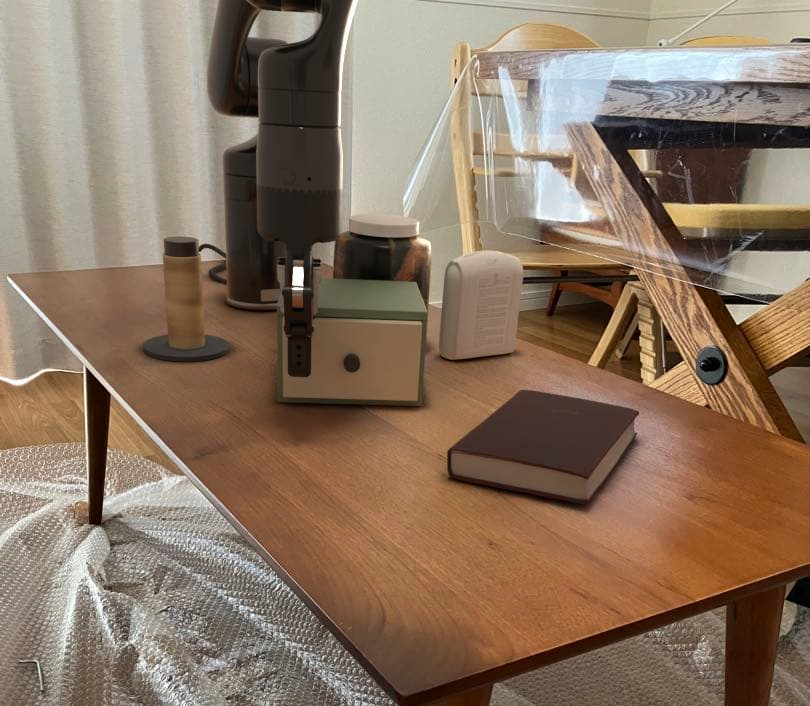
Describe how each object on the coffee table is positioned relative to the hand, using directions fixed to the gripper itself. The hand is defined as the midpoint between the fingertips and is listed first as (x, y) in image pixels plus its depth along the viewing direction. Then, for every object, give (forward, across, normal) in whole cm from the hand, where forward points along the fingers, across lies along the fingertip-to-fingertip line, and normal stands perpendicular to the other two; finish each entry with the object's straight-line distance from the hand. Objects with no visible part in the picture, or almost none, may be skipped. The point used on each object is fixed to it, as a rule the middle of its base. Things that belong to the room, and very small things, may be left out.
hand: (299, 374), depth 88 cm
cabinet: (+4, +11, -5) cm, 13 cm away
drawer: (+3, +9, -5) cm, 11 cm away
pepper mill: (+3, +22, +14) cm, 26 cm away
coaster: (+4, +22, +14) cm, 27 cm away
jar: (+4, +27, -9) cm, 29 cm away
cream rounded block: (+4, +24, -21) cm, 32 cm away
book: (+5, -8, -23) cm, 25 cm away
